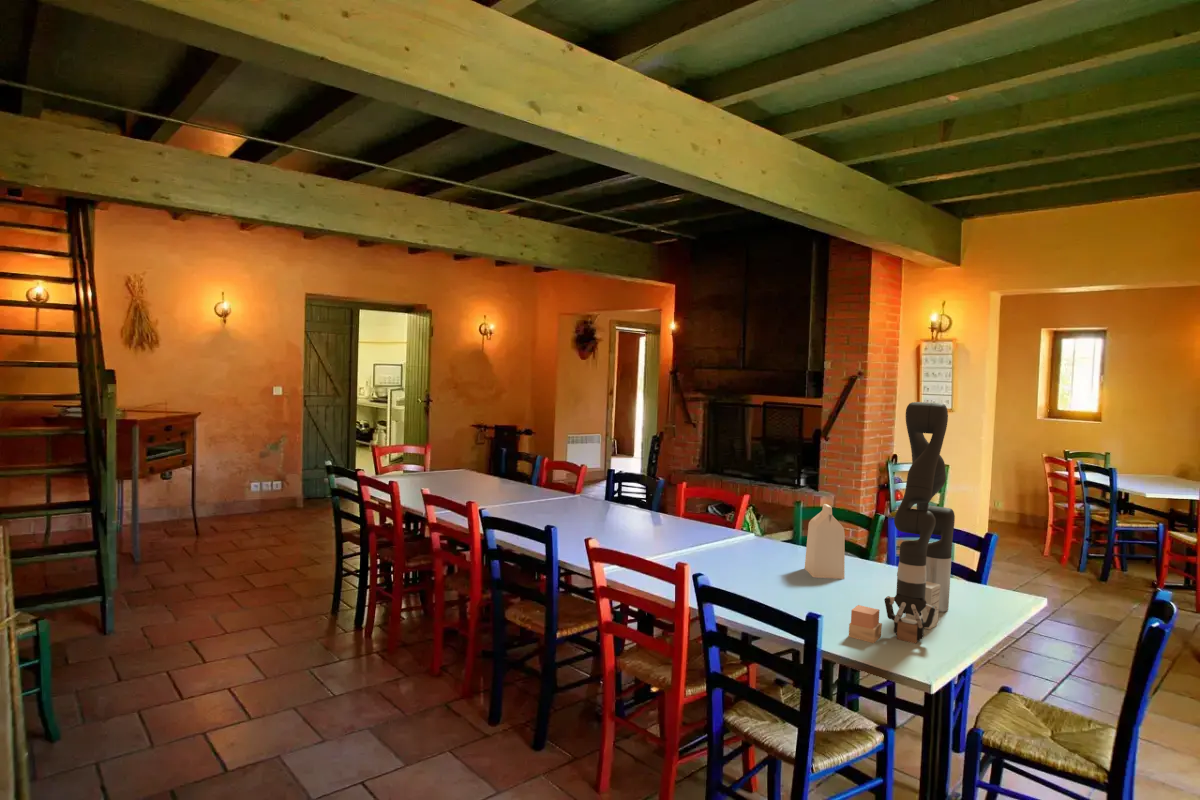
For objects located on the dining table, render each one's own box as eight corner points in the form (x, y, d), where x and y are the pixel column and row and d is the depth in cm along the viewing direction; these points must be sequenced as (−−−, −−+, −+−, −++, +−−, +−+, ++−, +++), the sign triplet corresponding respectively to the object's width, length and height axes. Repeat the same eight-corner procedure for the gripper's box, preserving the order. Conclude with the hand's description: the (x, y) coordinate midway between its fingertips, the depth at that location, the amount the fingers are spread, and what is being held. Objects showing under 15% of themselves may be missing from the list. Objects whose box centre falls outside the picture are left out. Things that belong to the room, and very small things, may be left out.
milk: (844, 578, 258) (848, 509, 257) (813, 577, 258) (816, 507, 257) (834, 569, 270) (837, 503, 269) (804, 568, 270) (807, 502, 269)
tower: (857, 618, 203) (858, 604, 203) (878, 623, 200) (879, 609, 200) (850, 623, 199) (851, 609, 199) (872, 629, 195) (873, 615, 195)
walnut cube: (901, 634, 203) (902, 617, 202) (919, 638, 200) (920, 621, 199) (896, 638, 199) (897, 621, 198) (915, 643, 196) (916, 626, 195)
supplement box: (904, 623, 212) (906, 582, 211) (913, 618, 217) (916, 578, 217) (929, 630, 207) (931, 588, 206) (938, 624, 212) (941, 583, 211)
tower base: (856, 631, 204) (857, 617, 204) (881, 637, 200) (881, 623, 200) (848, 637, 199) (849, 623, 199) (873, 643, 195) (874, 629, 195)
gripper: (941, 581, 197) (938, 640, 198) (888, 570, 206) (885, 627, 206) (936, 586, 191) (932, 647, 192) (881, 576, 200) (878, 634, 200)
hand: (908, 637), depth 199 cm, fingers closed on walnut cube, 5 cm apart
